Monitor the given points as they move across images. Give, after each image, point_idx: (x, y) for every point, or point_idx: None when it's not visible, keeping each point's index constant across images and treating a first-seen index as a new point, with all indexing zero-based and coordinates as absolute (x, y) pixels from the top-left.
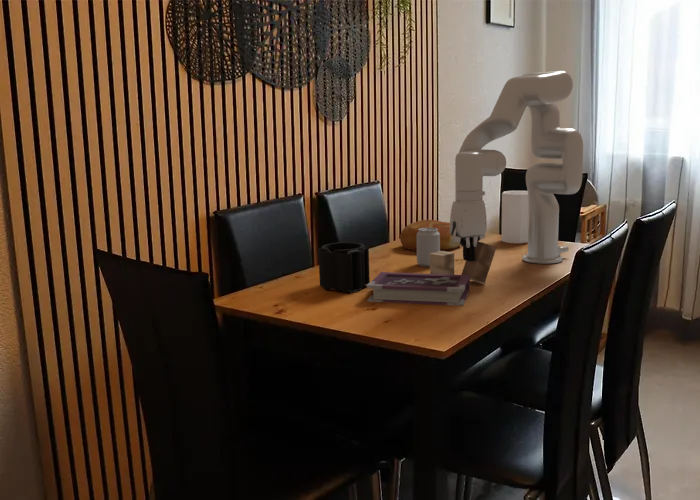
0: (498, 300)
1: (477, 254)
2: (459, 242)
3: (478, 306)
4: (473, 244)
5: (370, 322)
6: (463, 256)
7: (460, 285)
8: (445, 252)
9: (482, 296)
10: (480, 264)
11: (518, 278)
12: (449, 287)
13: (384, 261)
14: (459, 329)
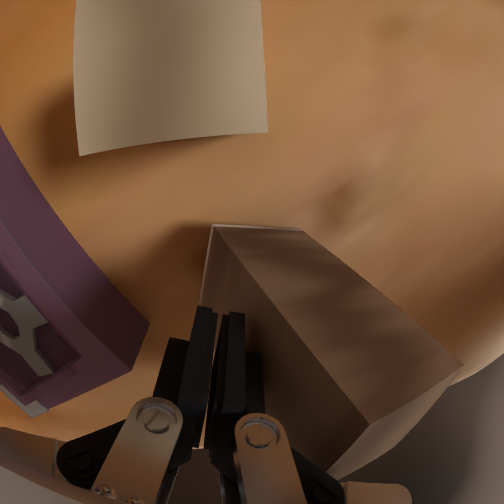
0: None
1: None
2: (82, 442)
3: (78, 407)
4: (219, 476)
5: None
6: (169, 343)
7: (34, 404)
8: (218, 41)
9: (137, 384)
10: None
11: (430, 325)
12: (5, 389)
13: None
14: (10, 418)
